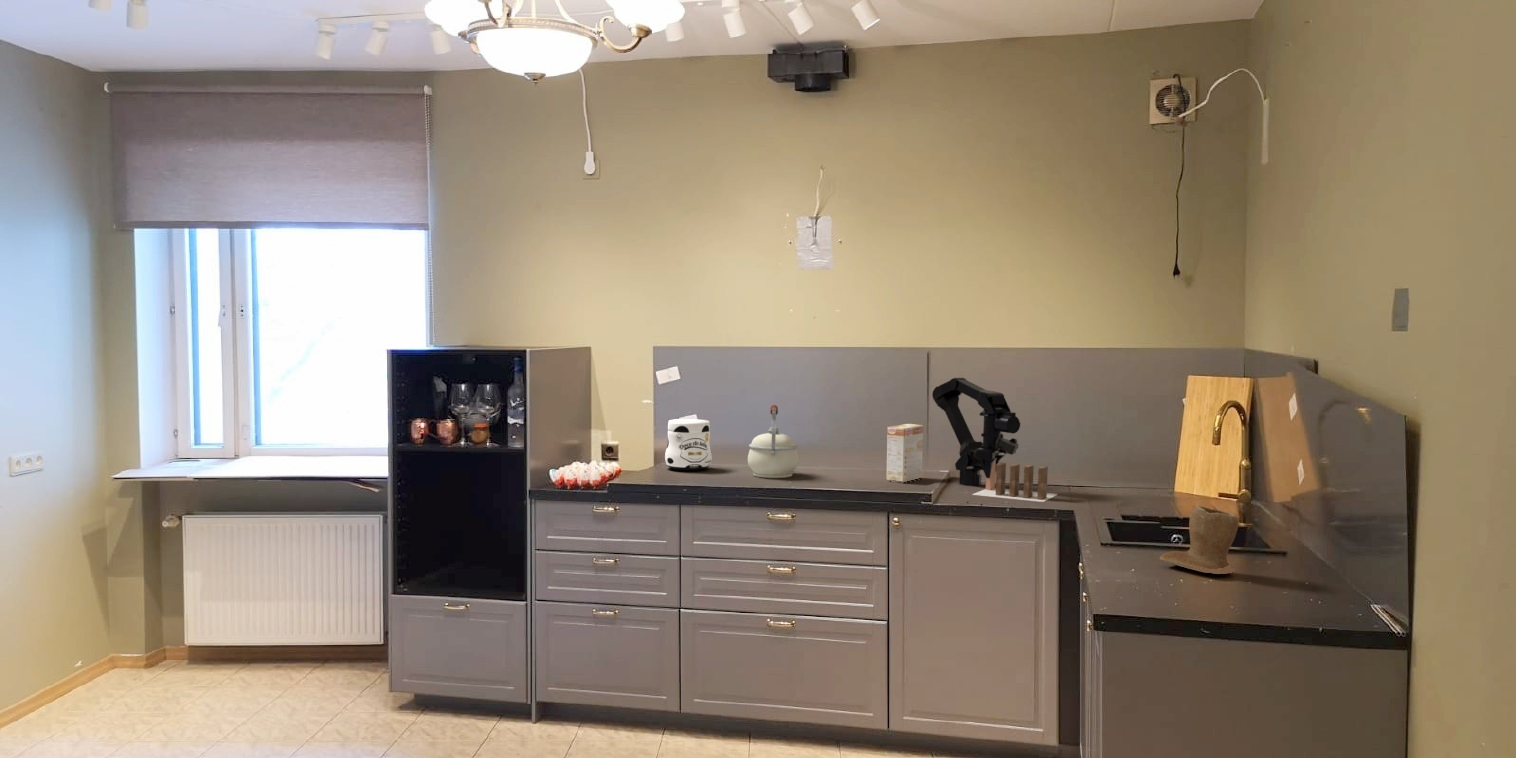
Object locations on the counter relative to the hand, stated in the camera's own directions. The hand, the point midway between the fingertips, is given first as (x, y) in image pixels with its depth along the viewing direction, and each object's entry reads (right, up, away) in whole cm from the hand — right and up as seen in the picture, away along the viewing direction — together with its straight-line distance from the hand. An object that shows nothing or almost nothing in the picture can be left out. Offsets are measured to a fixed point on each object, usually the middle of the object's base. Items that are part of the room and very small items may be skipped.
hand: (990, 477), depth 355 cm
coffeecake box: (-25, -4, +24) cm, 35 cm away
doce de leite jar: (-103, -1, +41) cm, 111 cm away
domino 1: (0, -4, 0) cm, 4 cm away
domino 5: (+13, -5, -17) cm, 22 cm away
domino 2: (+1, -5, -10) cm, 11 cm away
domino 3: (+5, -5, -12) cm, 14 cm away
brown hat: (+26, -12, -107) cm, 111 cm away
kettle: (-72, -2, +32) cm, 79 cm away
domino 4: (+9, -5, -15) cm, 18 cm away
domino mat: (+6, -6, -9) cm, 13 cm away
